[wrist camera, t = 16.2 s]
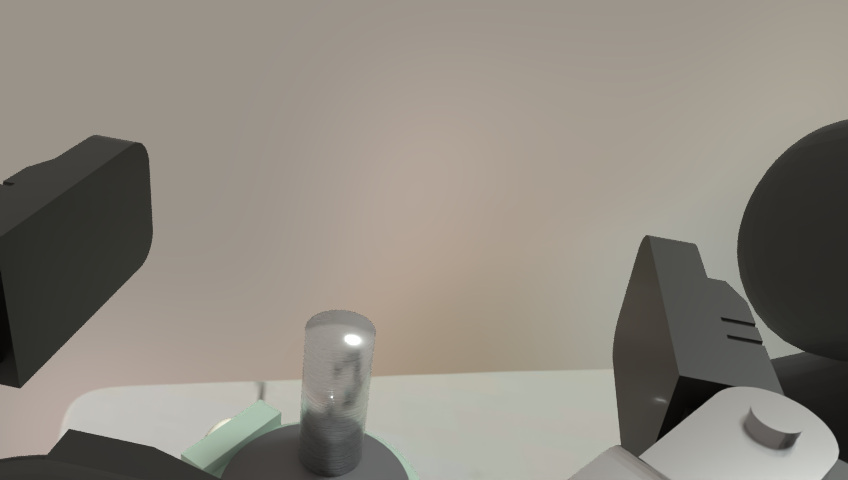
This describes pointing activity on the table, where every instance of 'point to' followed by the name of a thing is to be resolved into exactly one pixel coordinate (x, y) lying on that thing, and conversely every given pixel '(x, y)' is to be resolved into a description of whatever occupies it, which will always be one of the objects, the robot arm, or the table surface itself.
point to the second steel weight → (335, 391)
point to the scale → (281, 451)
